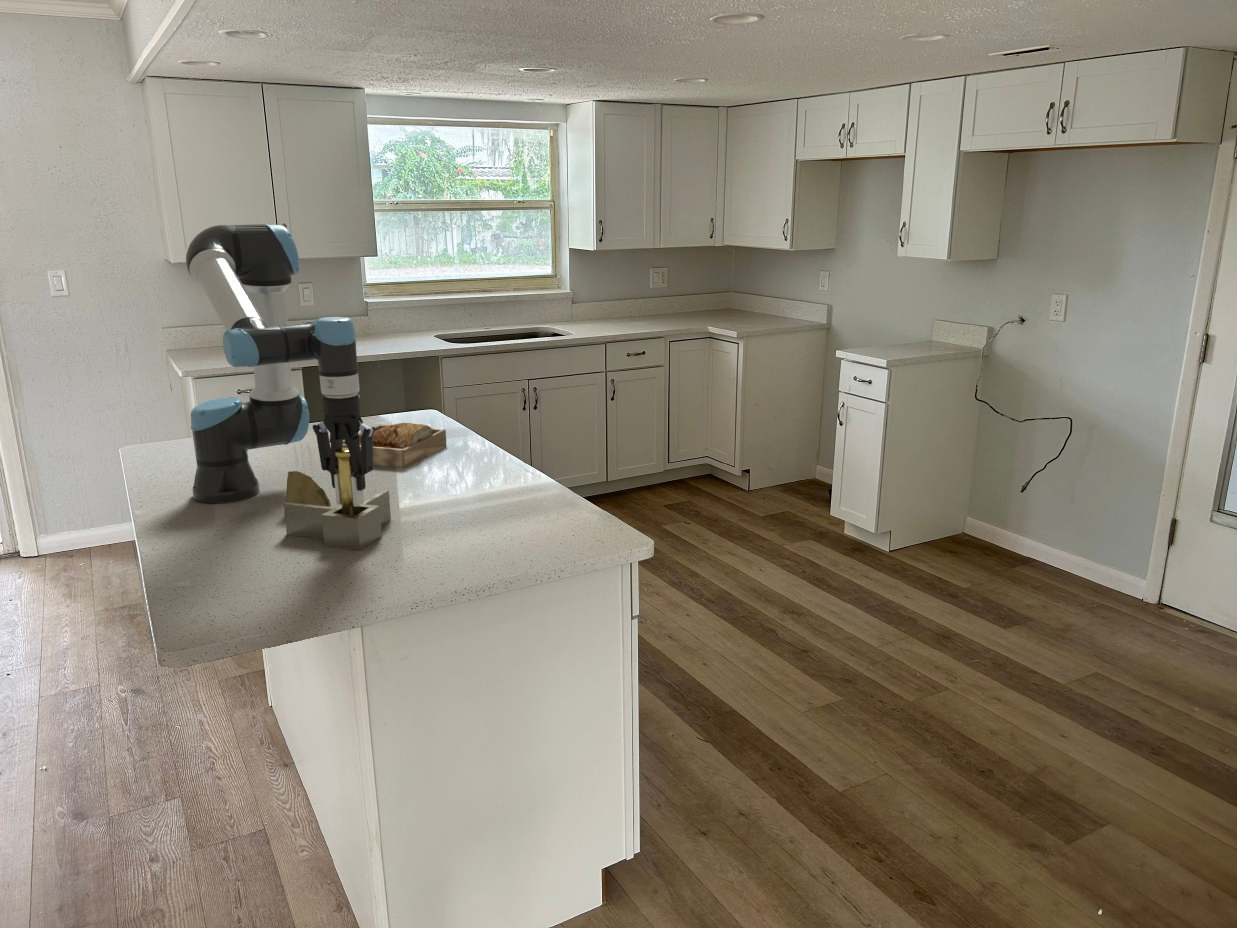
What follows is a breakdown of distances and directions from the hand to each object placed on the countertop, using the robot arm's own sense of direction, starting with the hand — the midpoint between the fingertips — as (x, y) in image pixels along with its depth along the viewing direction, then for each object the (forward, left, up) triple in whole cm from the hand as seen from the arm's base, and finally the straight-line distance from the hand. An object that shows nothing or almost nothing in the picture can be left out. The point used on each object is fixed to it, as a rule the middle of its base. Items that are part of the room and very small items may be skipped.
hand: (350, 503), depth 187 cm
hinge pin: (0, 0, -4) cm, 4 cm away
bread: (-26, +63, -9) cm, 69 cm away
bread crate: (-28, +64, -9) cm, 70 cm away
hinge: (-6, +5, -9) cm, 12 cm away
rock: (-21, +14, -9) cm, 27 cm away
